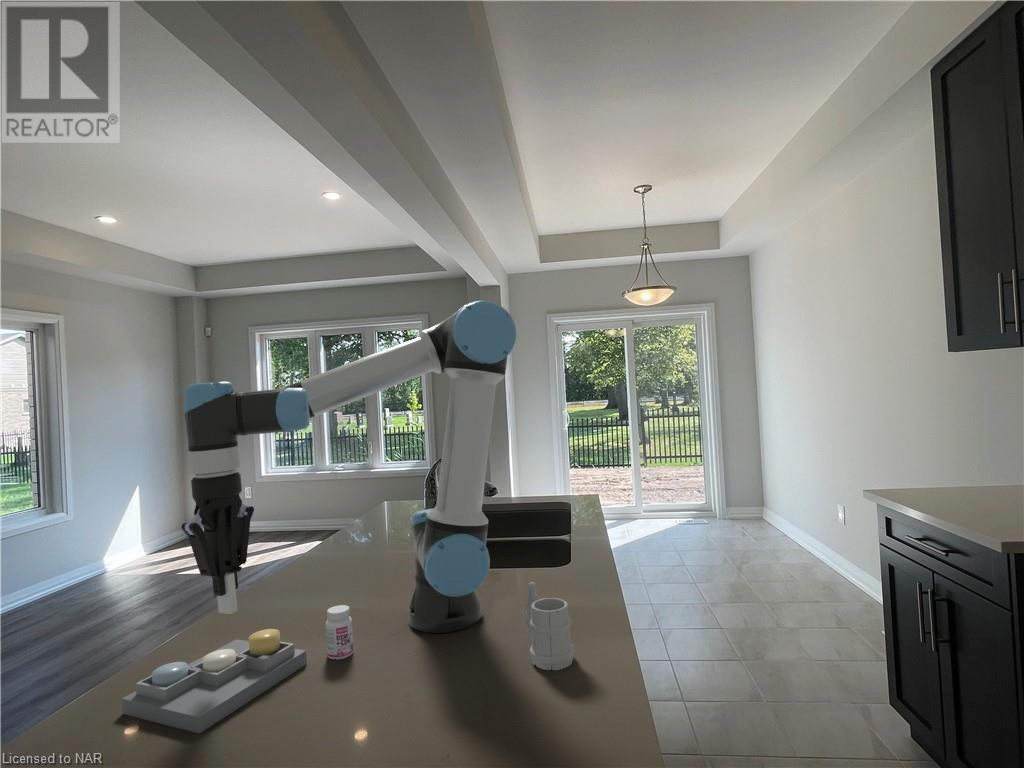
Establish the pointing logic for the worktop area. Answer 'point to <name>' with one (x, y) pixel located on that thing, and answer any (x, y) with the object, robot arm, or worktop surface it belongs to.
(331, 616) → the pill bottle
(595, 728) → the worktop surface
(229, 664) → the ivory button
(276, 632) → the ochre button
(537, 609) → the mug
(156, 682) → the slate button
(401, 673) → the worktop surface
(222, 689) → the panel
